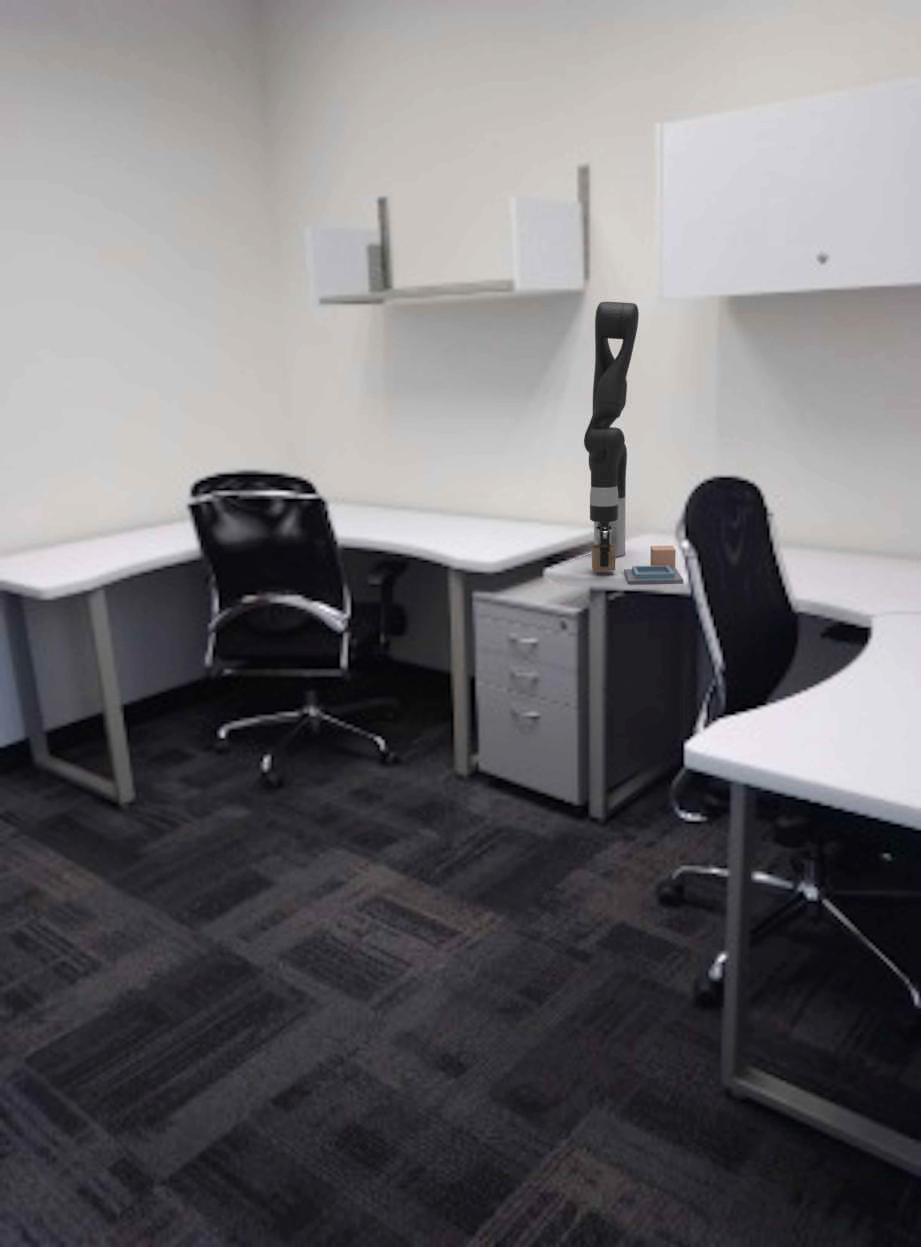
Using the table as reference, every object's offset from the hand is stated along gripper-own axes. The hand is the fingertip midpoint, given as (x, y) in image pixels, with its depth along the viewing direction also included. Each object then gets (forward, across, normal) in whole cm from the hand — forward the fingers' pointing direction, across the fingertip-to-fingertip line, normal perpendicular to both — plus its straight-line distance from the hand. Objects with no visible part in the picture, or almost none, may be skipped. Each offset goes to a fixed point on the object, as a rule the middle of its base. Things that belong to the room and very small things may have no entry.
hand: (603, 563), depth 265 cm
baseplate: (+3, -6, -13) cm, 14 cm away
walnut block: (+1, 0, 0) cm, 1 cm away
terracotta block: (+3, +5, -16) cm, 17 cm away
